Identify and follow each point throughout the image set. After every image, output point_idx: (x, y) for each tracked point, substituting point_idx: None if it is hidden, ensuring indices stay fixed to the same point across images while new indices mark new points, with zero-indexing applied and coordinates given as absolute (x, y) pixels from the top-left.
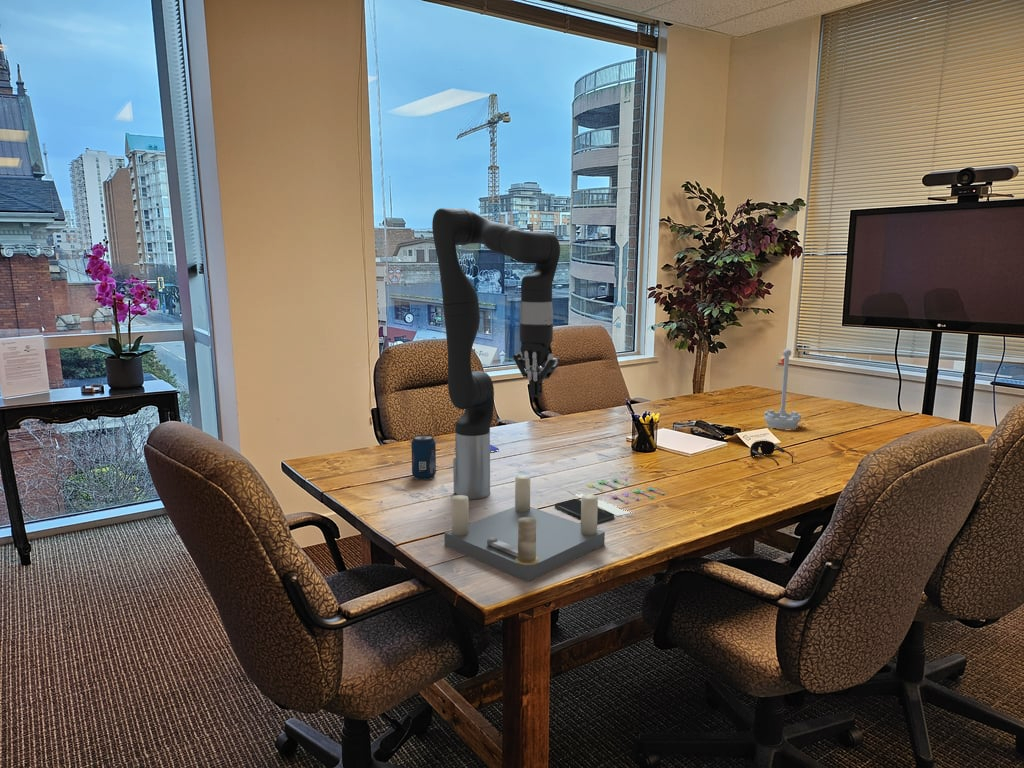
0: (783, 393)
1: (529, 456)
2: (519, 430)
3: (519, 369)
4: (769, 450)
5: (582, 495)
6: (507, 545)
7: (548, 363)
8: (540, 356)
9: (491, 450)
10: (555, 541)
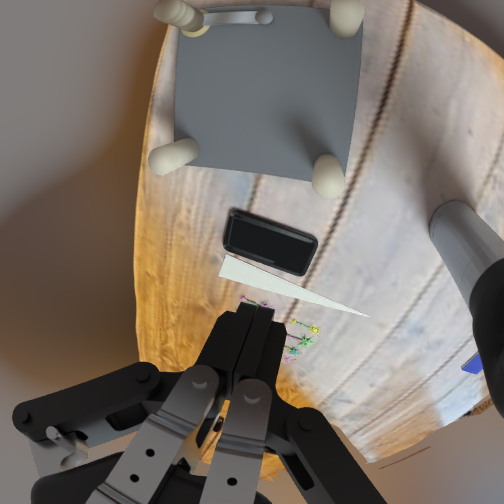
0: None
1: (424, 371)
2: (448, 412)
3: (350, 457)
4: (216, 425)
5: (306, 297)
6: (232, 19)
7: (42, 419)
8: (86, 496)
9: (469, 362)
10: (202, 89)
